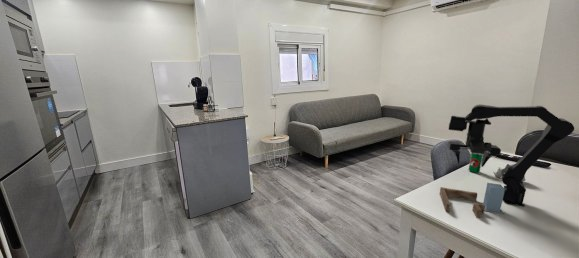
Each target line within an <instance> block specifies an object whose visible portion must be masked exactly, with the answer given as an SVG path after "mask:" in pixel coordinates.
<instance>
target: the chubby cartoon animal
mask: <svg viewBox="0 0 579 258" xmlns="http://www.w3.org/2000/svg"><path fill="white" fill-rule="evenodd" d="M514 164H515V163H512V164H509V165H510V166H512V165H514ZM503 169H504V168H501V167H500V166H499V167H498V168H497V171H493V172H492V173H493V175H494V177H495V178H497V179H500V178H502V177H501V173H502V172H501V170H503ZM525 181H526V175H525V176H524V178H523V180H522V182H525Z"/></svg>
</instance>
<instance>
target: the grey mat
mask: <svg viewBox="0 0 579 258" xmlns="http://www.w3.org/2000/svg"><path fill="white" fill-rule="evenodd" d="M478 203H479V204H483V202H478ZM484 212H489V213H494V214H498V215H499V214H500V215H505V213H504V211H503V210H502V209H500V212H498V211H493V210H487V209H486V208H485V209H484Z"/></svg>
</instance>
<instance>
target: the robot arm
mask: <svg viewBox="0 0 579 258" xmlns="http://www.w3.org/2000/svg"><path fill="white" fill-rule="evenodd" d="M497 117H498V118H499V117H537V118H539V119H540V120H541V121H542V122H544V124H546V126H545V128H544V130H543V131H542V133H541V136H540V138H539V139H538V140H536V142H535V143H534V144H533V145H532V146H531V147H530V148H529V149H528V150H527V151H526V152H525V153H524V154H523V155H522V156H521V157H520V158H519V159H518V160H517V162H515V163H513V164H514V165H512V166H510V165H511V164H506V165H505V167H504V168H502V169H503V170H501V172H502V173H501V177H500V178H501V181H502V183H503V188H504V189H505V191H504V196H503V200H502V202H503V203H504V204H508V205H513V206H519V207H520V206H521V207H525V204H524V203H523V202H524V200H525V197H526V196H525V195H526V193H527V189H526V186H525V184H524V181H522V180H523V178H524V176H525V177H526V173H527V171H528V170H529V169H530V168H531V167H532V166H533V165H534V164H535V163H536V162H537V161H538V160H539V159H540V158H541V157H542V156H544V154H545V153H546V152H547V151H549V149H550V148H551V147H552V146H553V145H555V143H559V142H561V141H562V140H564V139H565V138H567V137H568V136H570V135H571V134H572V133H574V131H575V127H574V124H573V123H572V122H570V121H568V120H567V119H565V118H562V117H561V118H559V117H557V116H556V115H554V114H553V113H552V112H550V111H549V110H548V109H547V108H546V107H544V106H543V105H536V106H534V105H533V106H495V105H494V106H493V105H487V104H476V105H474V106H473V107H472V108H471V110H470V112H469V113H468V114H466V116H456V115H451V116H450V120H449V123H448V131H456V132H464V131H465V130H467V132H466V138H465V139H466V140H465V144H460V142H458V141H452V140H451V141H449V142H447V148H448V149H449V150H450V151H451V152H453V153H454V156H455V160H456V163H457V165H459V164H460V158H461V156H460V154H461V151H460V150H461V149H463V150H470V153H480V154H483V157H482V162H481V168H483V167H484V166H485V165H486V164H487V163H488V161H489V160H490V159H491V158H492V157H496V156H500V155H501V154H502V153H501V152H502V151H501V148H500V147H498V146H497V145H493V144H492V143H491V142H488V141H487V142H485V141H484V138H485V137H484V133H485V129H486V128H485V127H486V125H489V126H490V125H492V122H491V121H490V120H489V119H491V118H497ZM467 126H468V129H467Z"/></svg>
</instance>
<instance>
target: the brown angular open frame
mask: <svg viewBox="0 0 579 258" xmlns="http://www.w3.org/2000/svg"><path fill="white" fill-rule="evenodd" d="M439 196H440V199H441V202H442V205H443V207H444V211H445V213H450V209H451V203H450V200H449V197H450V198H455V199H460V200H461V199H462V200H465V201H466V200H468V201H473V204H472V209H471V210H472V213H473V214H474V217H475V218H476V219H481V216H482V215H481V214H485V211H484V209H485V205H484V204H479V202H478V203H477V198H478V193H477V192H475V191H468V190H461V189H456V188H449V187H448V188H447V187H440V189H439Z"/></svg>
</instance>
